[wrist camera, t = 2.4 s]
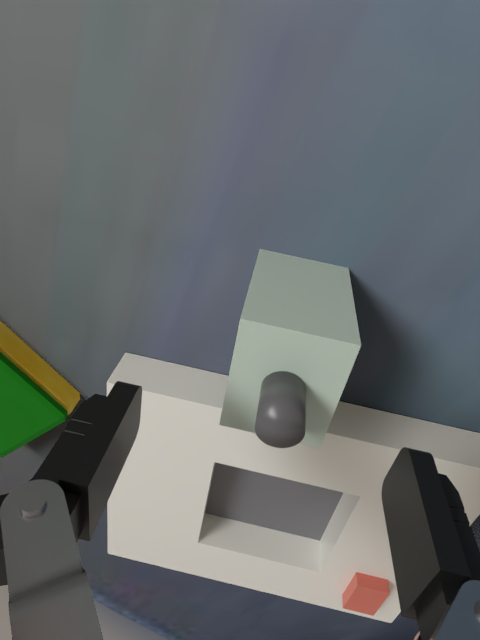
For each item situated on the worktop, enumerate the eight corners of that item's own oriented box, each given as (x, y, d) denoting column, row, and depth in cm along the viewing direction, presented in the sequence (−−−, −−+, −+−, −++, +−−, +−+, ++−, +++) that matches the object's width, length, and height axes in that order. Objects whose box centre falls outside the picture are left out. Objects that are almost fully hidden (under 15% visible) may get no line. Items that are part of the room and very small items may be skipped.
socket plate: (492, 435, 22) (517, 489, 20) (386, 584, 31) (393, 636, 28) (125, 352, 23) (99, 392, 20) (121, 520, 32) (102, 565, 29)
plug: (348, 267, 19) (367, 386, 12) (318, 356, 21) (320, 492, 15) (260, 248, 19) (230, 354, 12) (241, 338, 22) (208, 466, 15)
